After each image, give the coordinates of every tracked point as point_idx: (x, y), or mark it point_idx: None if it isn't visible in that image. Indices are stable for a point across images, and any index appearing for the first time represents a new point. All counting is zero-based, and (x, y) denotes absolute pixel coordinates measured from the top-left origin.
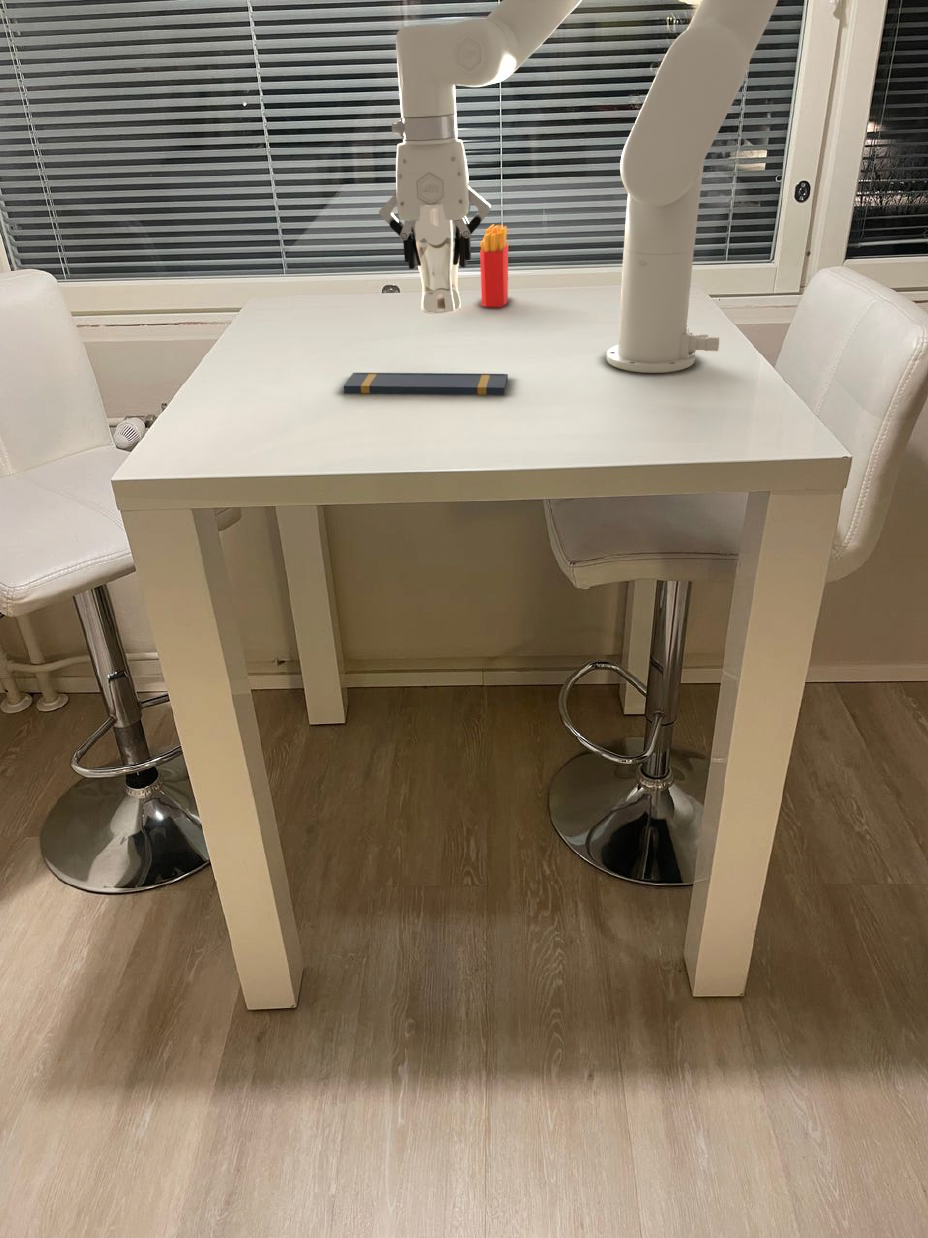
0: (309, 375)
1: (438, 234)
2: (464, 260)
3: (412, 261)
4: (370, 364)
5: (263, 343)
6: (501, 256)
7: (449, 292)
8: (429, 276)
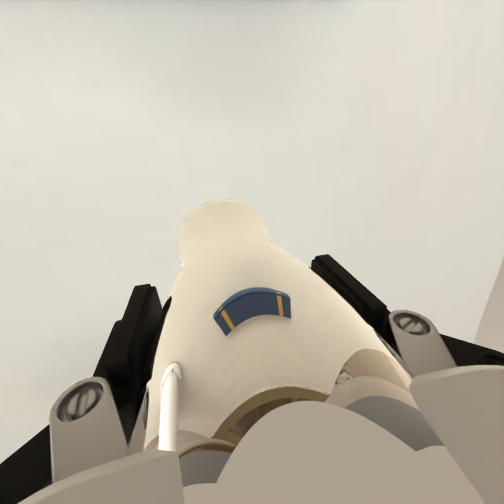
0: (424, 29)
1: (228, 313)
2: (131, 299)
3: (324, 266)
4: (324, 116)
5: (477, 213)
6: None
7: (193, 232)
8: (253, 234)
